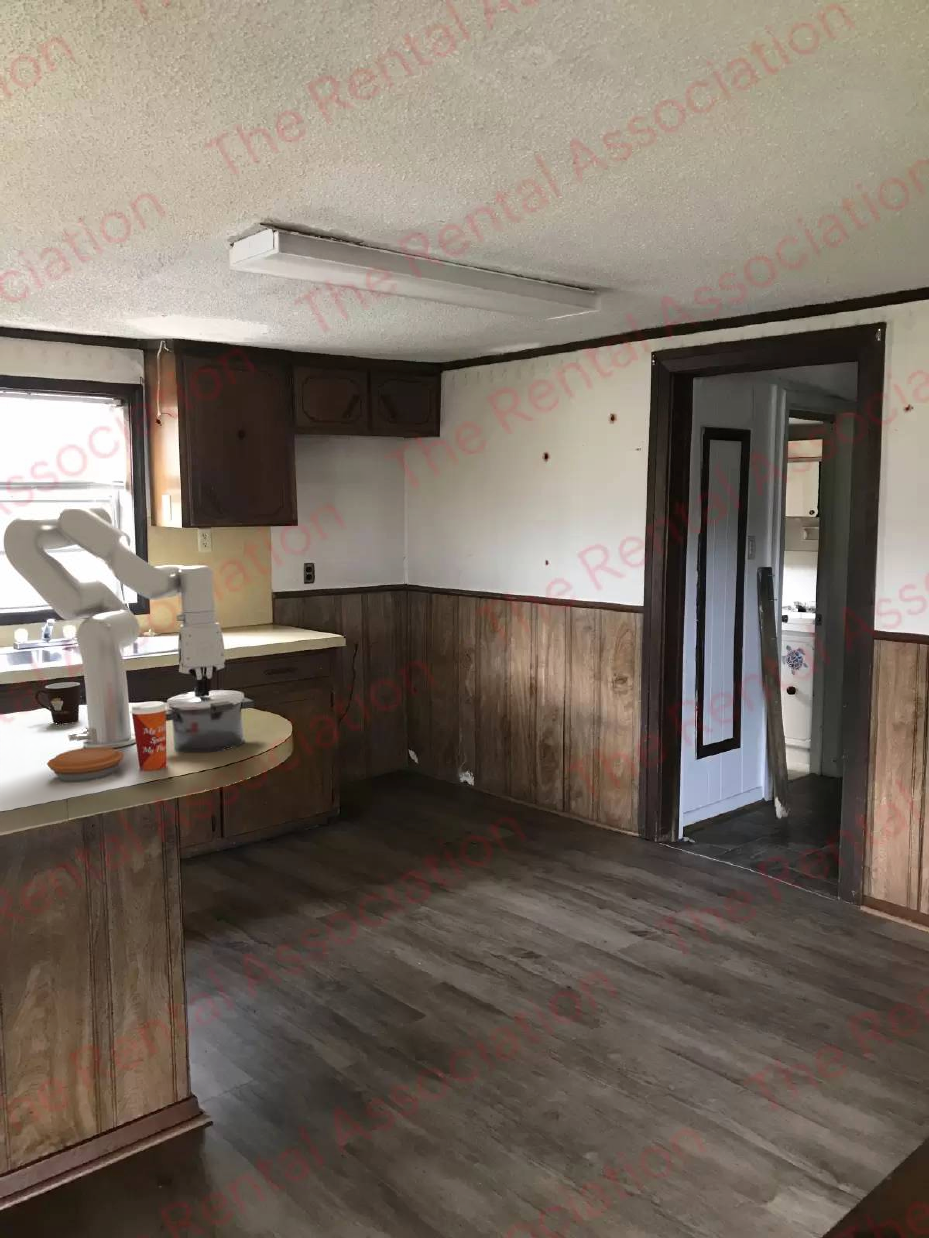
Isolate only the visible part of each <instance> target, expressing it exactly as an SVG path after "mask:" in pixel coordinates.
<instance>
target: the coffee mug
mask: <svg viewBox="0 0 929 1238" xmlns="http://www.w3.org/2000/svg"><path fill="white" fill-rule="evenodd" d="M80 687H81V683H80V682H74V681H71V682H58V683H52V684H49V685H46V686H45V689H40V690H38V691H36V693H35V696H34V697H35V700H36V702H37V703H38V704H39V705H40V706H41V707H42V708H44V709H45V710H48V711H49V712H50V713H51V714H50V715H51V720H52V723H53V722H54V723H57V724H56V725H66V724H65V723H69V724H73V723H72V722H74V723H76V722H79V719H80V716H79V713H80V689H81V688H80ZM40 693H45V694H46V695H47V699H48V705H49V707H48V706H47V705H45V704H44V703H43V702H42V701H41V700H40V699H39V694H40ZM54 723H53V724H54Z"/></svg>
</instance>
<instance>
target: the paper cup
mask: <svg viewBox="0 0 929 1238" xmlns="http://www.w3.org/2000/svg"><path fill="white" fill-rule="evenodd" d="M166 710H168V706H166V704H165V702H163V701H157V700H154V701H144V702H142V701H141V702H138V703H135V704H132V705H131V710H129V714H131V716H132V722H133V723H132V724H133V730H134V734H135V739H136V742H135V744H136V751H137V759H138V765H139V770H141V771H144V772H145V771H146V772H147V770H149V771H156V770H162V769H164V768H166V767H167V721H166ZM149 771H148V772H149Z"/></svg>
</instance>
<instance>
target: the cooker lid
mask: <svg viewBox="0 0 929 1238" xmlns="http://www.w3.org/2000/svg"><path fill="white" fill-rule="evenodd" d="M193 689H194V690H193V691H190V692H182V693H180V694H178V695H175V696H171V697H170V698H168V699H167V700H166V704H167V705H166V707H167V708H169V709H177V710H204V709H212V710H215V711H220V710H227V709H233V705H235V704H238V703H240V702H242V701H243V700H244V698H245V694H244V692H242V691H238V690H224V689H219V690H214V689H213V690H210V691H209V696H206V695H205V696H200V695H198V693H197V692H196V687H194V688H193Z"/></svg>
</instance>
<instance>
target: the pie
mask: <svg viewBox="0 0 929 1238" xmlns="http://www.w3.org/2000/svg"><path fill="white" fill-rule="evenodd" d="M124 756H125V755H124V752H123V751H120V750H117V749H115V748H106V747H96V748H86V747H84V748H78V749H73V750H68V751H65V752H62V753H58V755H55V757H53V758H51V759H49V760H48V762H47V763H46V765H47V766H48V768H49V769H50V770H51V771H53V773H54V774H55V775H56V776H57V778H58V779H59V780H60V781H62V780H63V782H67V783H79V782H81V783H82V782H90V781H96V780H101V779H104V778H107V777H109V776H112V775H113V774H114V773H115V772H116V770H117V769H118V767H119V764H120V763H121V761H122V760H123V758H124Z"/></svg>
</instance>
